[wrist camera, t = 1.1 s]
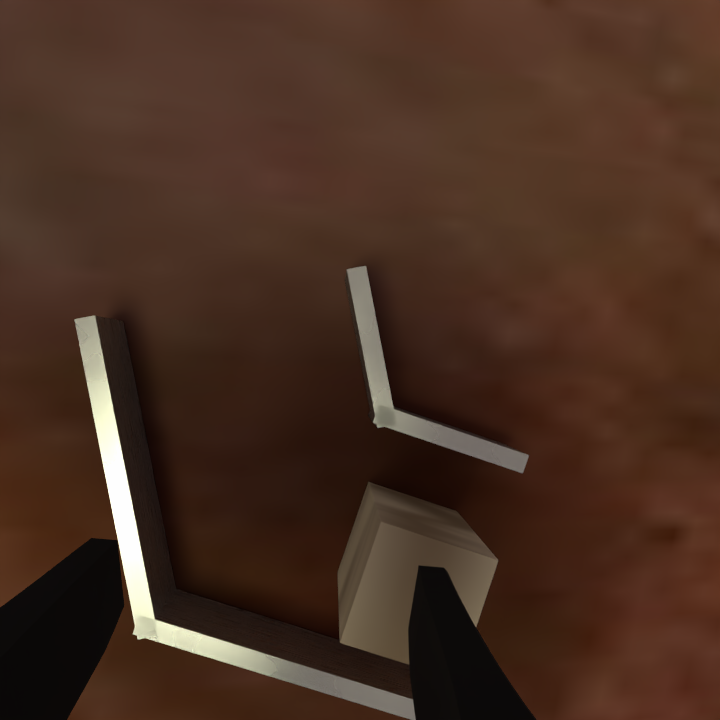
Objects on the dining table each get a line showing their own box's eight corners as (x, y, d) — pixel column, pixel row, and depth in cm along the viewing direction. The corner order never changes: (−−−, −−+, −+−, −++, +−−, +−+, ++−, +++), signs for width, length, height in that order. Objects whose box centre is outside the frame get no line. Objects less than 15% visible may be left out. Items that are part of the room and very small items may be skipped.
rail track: (586, 537, 24) (619, 560, 21) (320, 781, 23) (318, 838, 21) (277, 179, 24) (270, 155, 21) (-8, 419, 23) (-56, 427, 20)
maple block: (456, 510, 24) (498, 560, 18) (426, 600, 24) (458, 680, 18) (368, 481, 24) (380, 521, 18) (337, 571, 24) (339, 642, 18)
